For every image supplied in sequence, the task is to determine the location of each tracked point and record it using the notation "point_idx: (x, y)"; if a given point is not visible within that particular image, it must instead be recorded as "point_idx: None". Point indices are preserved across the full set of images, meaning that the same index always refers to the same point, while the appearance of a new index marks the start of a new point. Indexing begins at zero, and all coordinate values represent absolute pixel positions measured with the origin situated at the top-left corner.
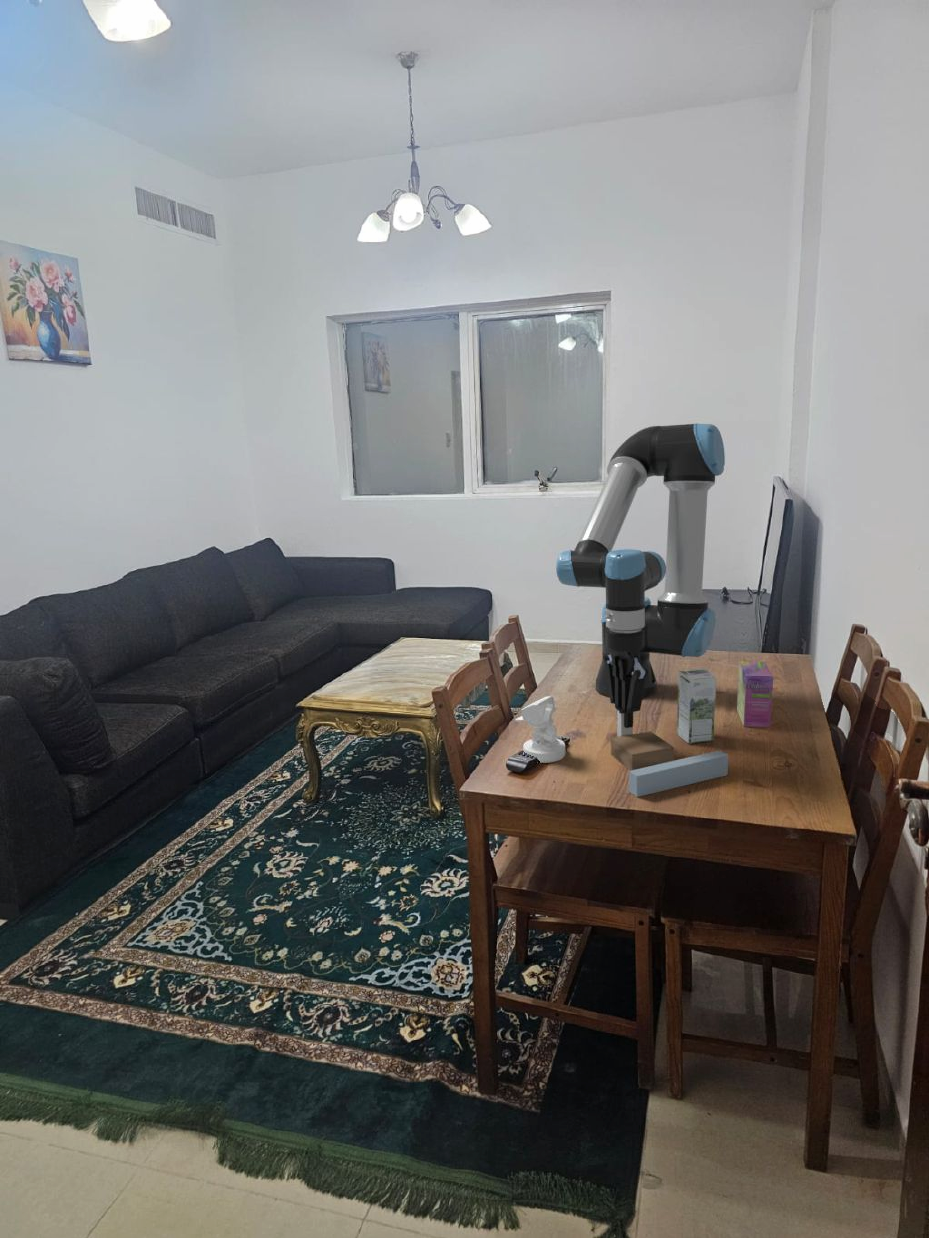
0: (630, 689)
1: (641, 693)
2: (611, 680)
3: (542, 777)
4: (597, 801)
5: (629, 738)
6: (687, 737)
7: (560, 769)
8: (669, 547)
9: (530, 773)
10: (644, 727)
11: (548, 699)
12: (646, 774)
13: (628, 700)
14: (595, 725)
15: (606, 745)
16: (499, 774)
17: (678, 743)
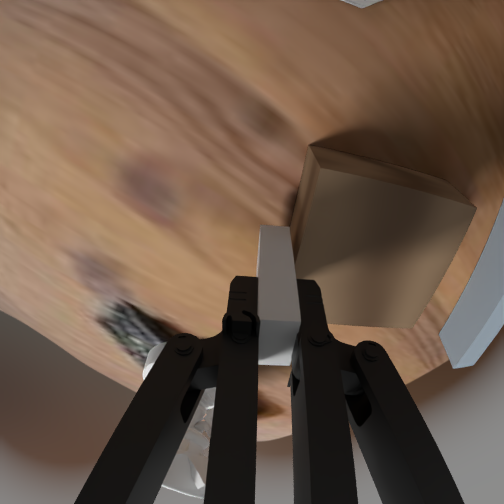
0: (384, 489)
1: (427, 442)
2: (161, 484)
3: (288, 402)
4: (415, 376)
5: (324, 279)
6: (359, 1)
7: (279, 379)
8: None
9: (263, 406)
10: (118, 47)
11: (175, 486)
12: (484, 349)
13: (357, 432)
14: (49, 195)
15: (207, 252)
16: None
17: (333, 29)
